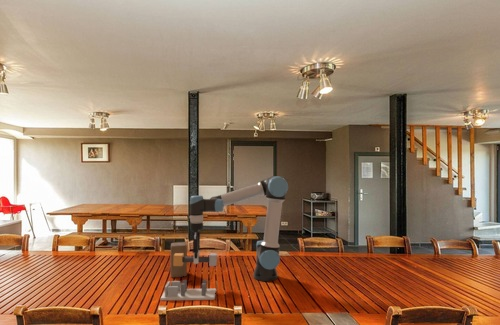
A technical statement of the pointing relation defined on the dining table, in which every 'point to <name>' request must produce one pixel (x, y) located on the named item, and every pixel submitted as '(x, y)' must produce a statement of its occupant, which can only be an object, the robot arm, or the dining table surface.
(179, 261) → the rod with end blocks
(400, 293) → the dining table surface
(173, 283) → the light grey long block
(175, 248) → the wooden block
